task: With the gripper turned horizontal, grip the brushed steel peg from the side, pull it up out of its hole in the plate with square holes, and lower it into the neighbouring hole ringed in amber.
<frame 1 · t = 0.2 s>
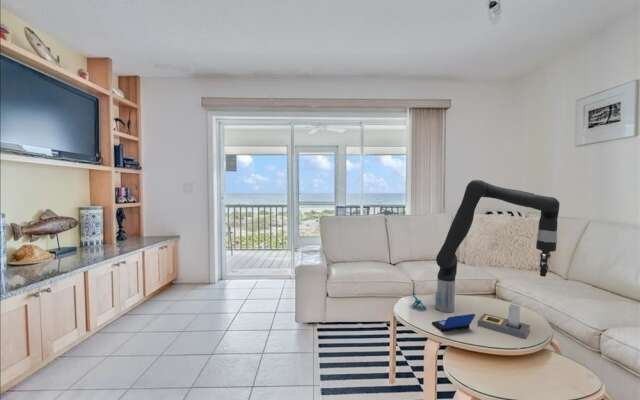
hand: (543, 274, 146), 29 cm above the table, tool pointing down, fingers open, 8 cm apart
plate with square holes: (503, 327, 154), on the table
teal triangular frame: (418, 308, 178), on the table
brushed steel peg: (513, 330, 151), resting in plate with square holes
handheld game console: (452, 328, 153), on the table
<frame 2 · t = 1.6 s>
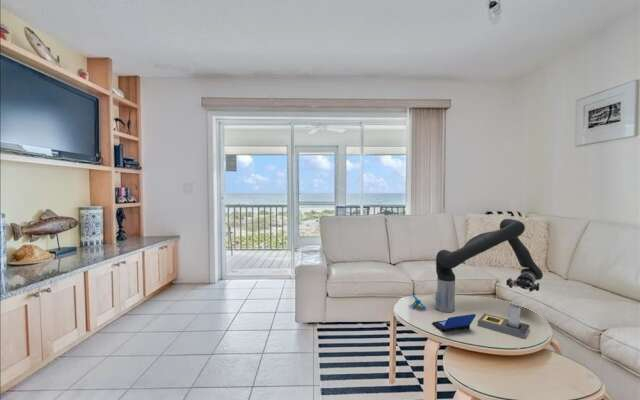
hand: (520, 287, 159), 18 cm above the table, tool horizontal, fingers open, 8 cm apart
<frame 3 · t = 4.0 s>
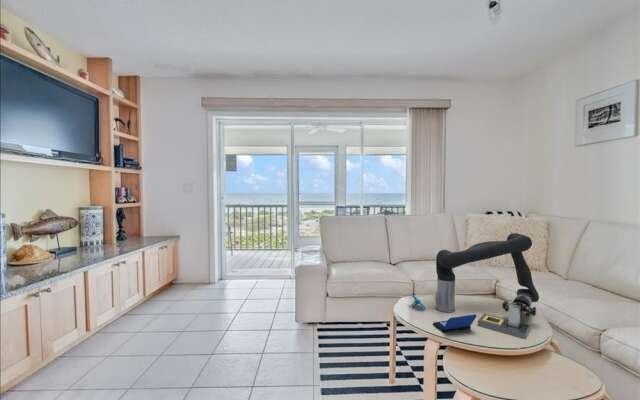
hand: (516, 312, 154), 7 cm above the table, tool horizontal, fingers open, 8 cm apart
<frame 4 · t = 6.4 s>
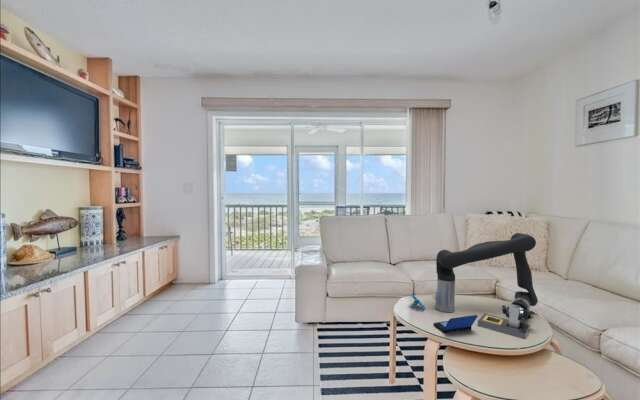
hand: (513, 317, 148), 8 cm above the table, tool horizontal, fingers closed on brushed steel peg, 4 cm apart
brushed steel peg: (513, 330, 151), resting in plate with square holes, touching gripper
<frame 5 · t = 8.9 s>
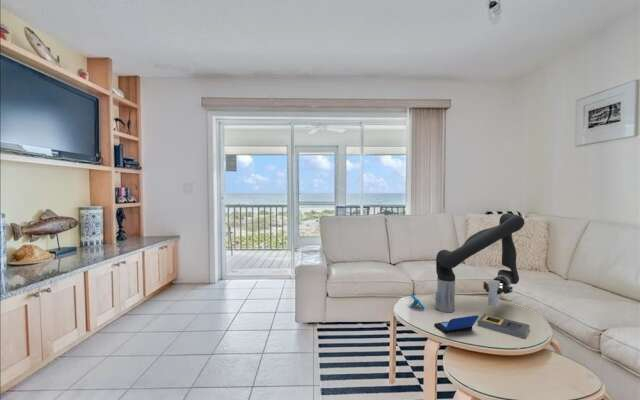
hand: (492, 291, 154), 18 cm above the table, tool horizontal, fingers closed on brushed steel peg, 4 cm apart
brushed steel peg: (493, 304, 156), point 10 cm above the table, touching gripper
when the fingers open (8 cm above the table, at t = 11.4 s): brushed steel peg stays where it is, resting in plate with square holes.
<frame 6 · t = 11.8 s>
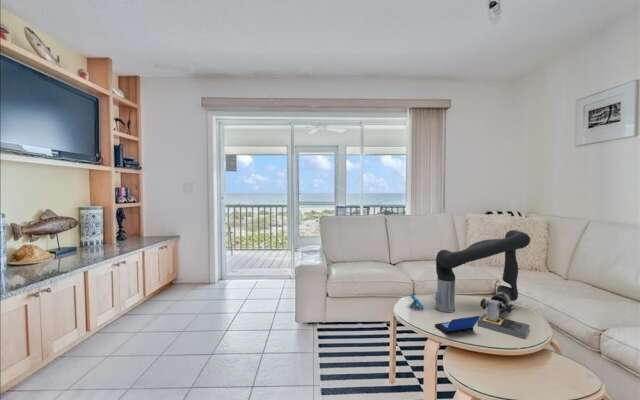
hand: (492, 309, 155), 8 cm above the table, tool horizontal, fingers open, 7 cm apart
brushed steel peg: (492, 325, 157), resting in plate with square holes
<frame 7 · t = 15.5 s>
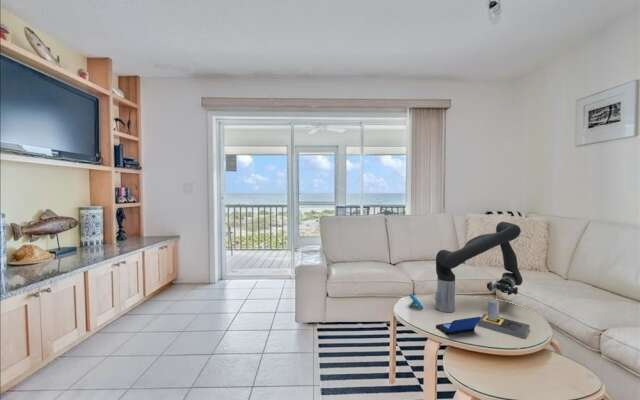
hand: (499, 291, 165), 14 cm above the table, tool horizontal, fingers open, 8 cm apart
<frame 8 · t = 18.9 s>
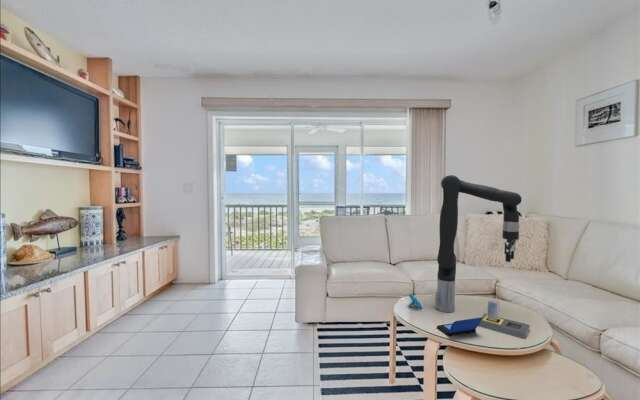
hand: (509, 260, 167), 30 cm above the table, tool pointing down, fingers open, 8 cm apart
at the end: brushed steel peg 0.1 cm from the target spot on the plate with square holes, point 0.0 cm above the plate with square holes's base; brushed steel peg tilted 0°; the gripper is holding nothing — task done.
